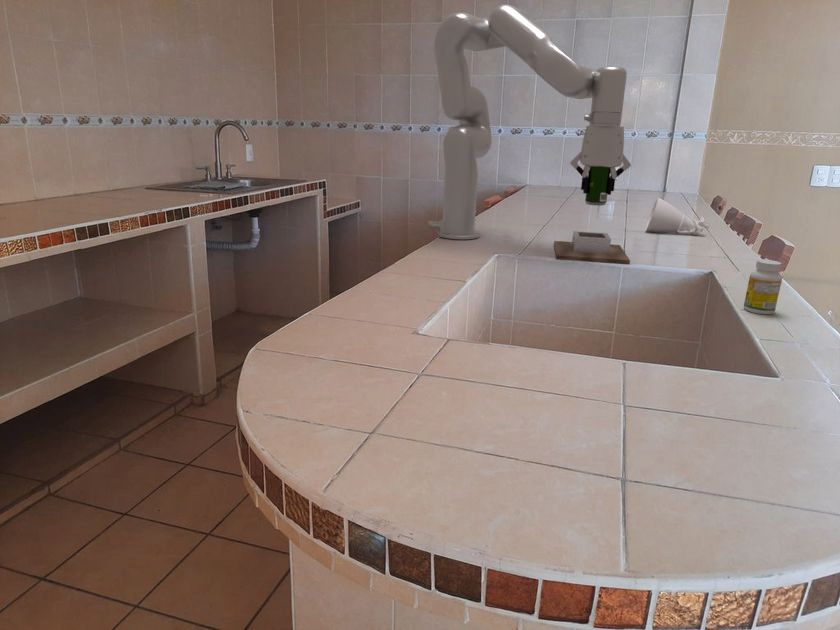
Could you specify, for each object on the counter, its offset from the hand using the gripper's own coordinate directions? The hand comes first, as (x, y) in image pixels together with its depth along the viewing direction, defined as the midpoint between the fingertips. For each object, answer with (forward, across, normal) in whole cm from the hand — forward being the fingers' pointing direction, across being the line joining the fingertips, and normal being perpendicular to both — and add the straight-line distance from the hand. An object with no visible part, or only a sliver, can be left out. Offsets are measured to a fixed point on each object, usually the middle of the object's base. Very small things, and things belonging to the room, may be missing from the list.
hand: (596, 192), depth 156 cm
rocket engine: (+17, +30, +41) cm, 54 cm away
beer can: (+3, 0, 0) cm, 3 cm away
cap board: (+16, 0, 0) cm, 16 cm away
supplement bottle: (+16, +28, -44) cm, 55 cm away
